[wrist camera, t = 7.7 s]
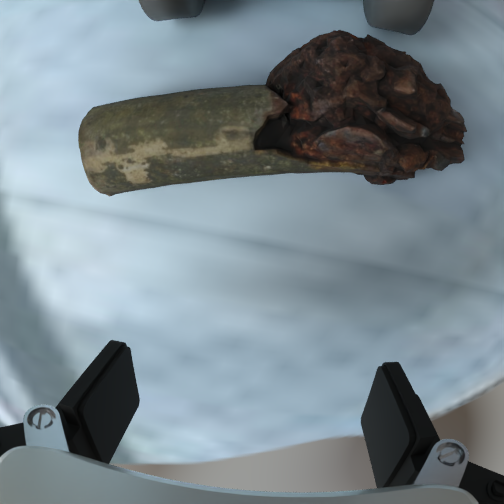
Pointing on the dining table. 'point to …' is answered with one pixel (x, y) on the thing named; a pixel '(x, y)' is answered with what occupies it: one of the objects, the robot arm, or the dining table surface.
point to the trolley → (375, 4)
